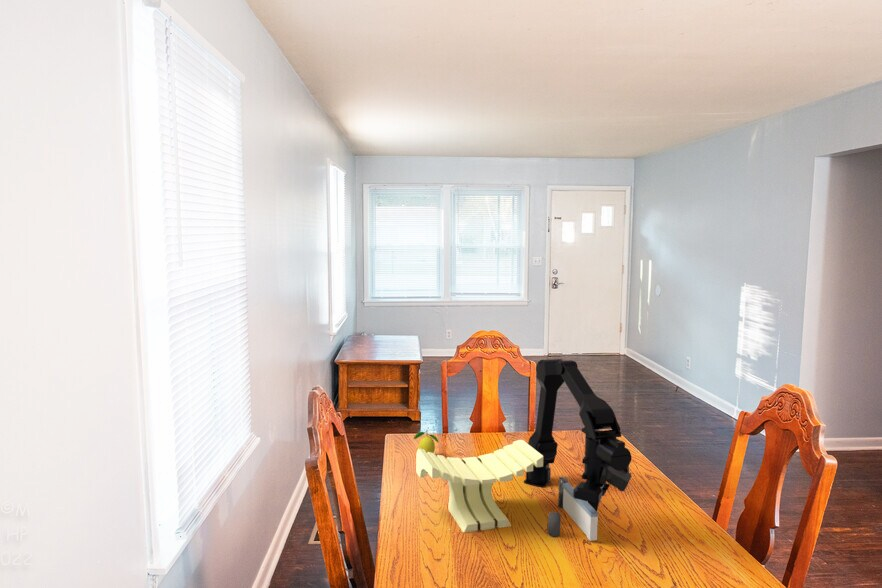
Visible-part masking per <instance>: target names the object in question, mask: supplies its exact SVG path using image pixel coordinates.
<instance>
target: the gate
mask: <svg viewBox="0 0 882 588" xmlns="http://www.w3.org/2000/svg"><path fill="white" fill-rule="evenodd" d="M563 488H564V489H563V510H564V511H565V512H566V513H567V514H568V516H569V517H570V518H571V519H572V520H573V522H574V523H575V524H576V525H577V526H578V527H579V529H581V531H582V532H583V533H584V535H586V538H587V539H588V541H590V542H593V541H597V539H598V523H599V522H598V518H599V516H598V515H599V514H598V513H599V512H598V510H597V511H596V510H595V509H594V508H593V507H592V506H591V505H590V504H589V503H588V502H587V501H584V500H580V499H576V498H574V497H573V492H574V488H575V487H573V486H572V484H571V483H569V482H568V483H563Z"/></svg>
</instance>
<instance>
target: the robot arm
mask: <svg viewBox="0 0 882 588" xmlns="http://www.w3.org/2000/svg"><path fill="white" fill-rule="evenodd" d="M535 367H536V368H535V371H536V372H535V373H536V375H535V376H536V380H537V381H538V384H539V386H540V390H539V401H538V408H537V416H536V425H535V431H534V432H533V433H532V434H531V436H530V437H529V439H528V443H527V444H529V445H530V446H531V447H532V448H534V449H535V450H536V451H538V452H539V453H540V454H541V455H543V467H535V466H534V465H533V471H530V472H526V471H525V479H524V480H523V483H524V484H528V485H532V486H537V487H540V488H545V487H546V486H547V485H548V484H549V483H550V481H551V475H552V474H551V473H552V472H551V471H552V469H551V467H550V464H555V459H556V457H557V455H558V452H557V451H558V450H557V449H558V446H559V445H558V442H557V441H556V440H555V437H554V436H553V430H554V421H555V416H556V415H555V414H556V407H557V406H556V405H557V399H558V390H559V389H560V388H561V387H562V385H563V384H564V383H565V385H566V386H567V388H568V390H569V391H570V393H571V395H572V396H573V398H574V400H575V402H576V403H577V405H578V407H579V413H578V415H579V417H580V420H581V422H582V424H583V426H584V427H583V428H581V430H580V431H581V432H582V433H583V434H584V435H585V436H584V437H585V439H584V440H585V441H584V457H583V458H582V462H581V463H582V464H584V466H583V467H584V470H583V471H584V472H583V473H582V474H581V479H583V480H585V482H584V481H580V482H579V483H577V485H576V486H575V487H573V488H574V492H573V497H574V498H576V499H580V500H584V501H587V502H588V503H589V504H590V505H591V506H592V507H593V508H594V509H595V510H596V511H597V512H598V509H599V506H600V502H601V500H602V498H603V496H604V495H605V494H606V493H607V490H609V488H610V487H611V486H613V487H614V488H616V489H617V490H618V491H620V492H625V491H626V489H627V487H628V485H629V483H630V480H631V478H632V472H630V464H631V463H632V454H631V451H630V449H628V448H627V447H626V443H625V441H623V440H621V439H619V438H621V437H623V436H622V432H621V427H620V424H619V422H618V420H617V417H616V413H615V412H614V409H613V408H612V407H611V405H609V404H608V402H606V400H604V399H602V398H601V397H599V396H597V395H596V394H595V392H594V391H593V389H592V387H591V386H590V385H589V383H588V382H587V380H586V378H585V377H584V376H583V374H582V372H581V370H580V369H579V368H578V363H577V362H576V360H575V361H574V360H572V359H567V360H563V359H562V358H551V359H550V358H549V359H540V360H539V361H537V364H536V366H535Z"/></svg>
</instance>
